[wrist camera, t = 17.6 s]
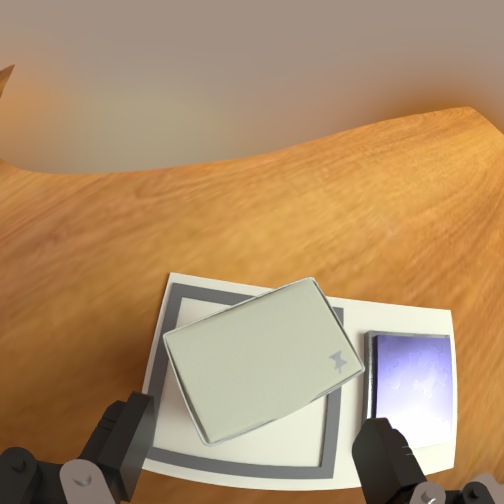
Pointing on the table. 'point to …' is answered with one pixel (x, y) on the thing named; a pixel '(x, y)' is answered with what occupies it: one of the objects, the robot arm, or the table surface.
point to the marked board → (291, 426)
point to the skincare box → (260, 360)
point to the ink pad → (409, 384)
